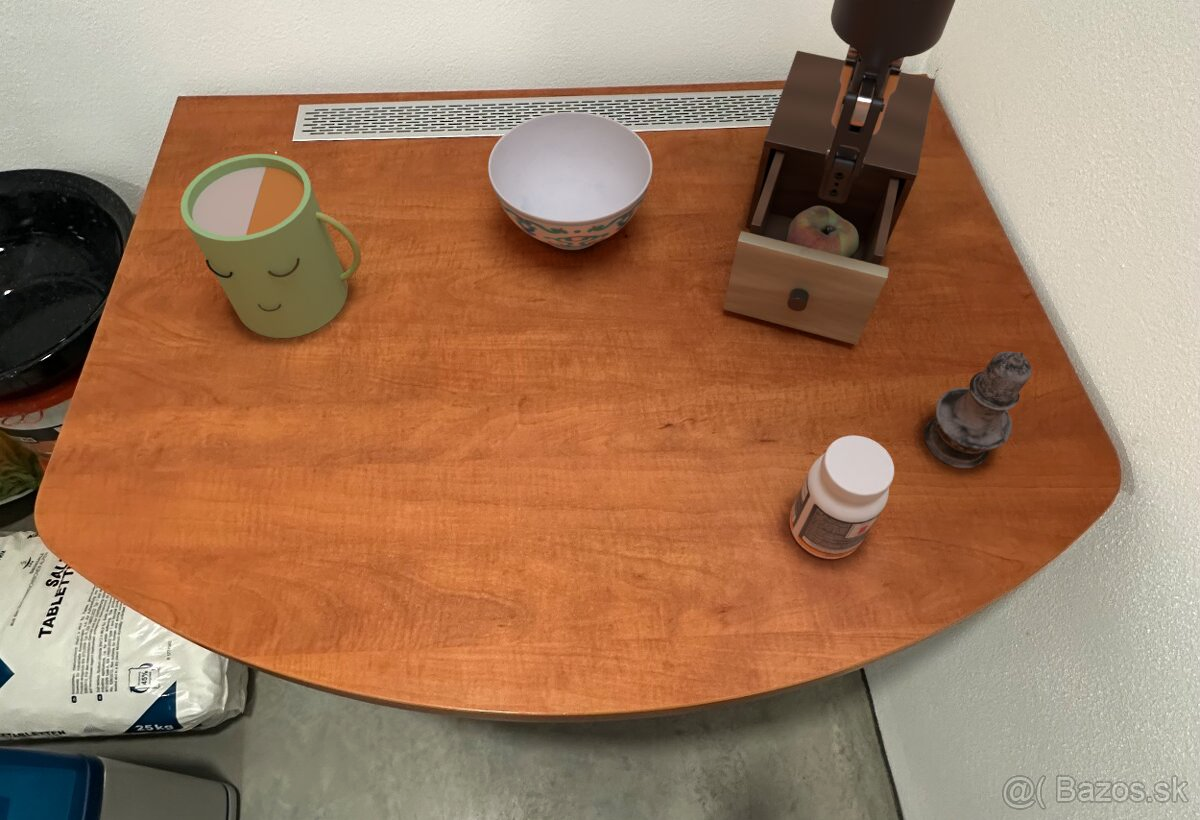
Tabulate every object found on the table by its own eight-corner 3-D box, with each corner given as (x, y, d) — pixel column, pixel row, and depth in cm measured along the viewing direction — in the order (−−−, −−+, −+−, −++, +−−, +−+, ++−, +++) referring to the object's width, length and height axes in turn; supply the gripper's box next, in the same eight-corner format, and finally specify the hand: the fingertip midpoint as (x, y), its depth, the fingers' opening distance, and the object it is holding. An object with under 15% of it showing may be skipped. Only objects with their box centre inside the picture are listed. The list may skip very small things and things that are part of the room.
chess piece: (990, 480, 64) (1064, 397, 54) (916, 459, 65) (976, 373, 55) (995, 422, 67) (1066, 333, 57) (924, 402, 68) (982, 312, 58)
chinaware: (524, 163, 84) (519, 99, 78) (662, 190, 82) (668, 127, 76) (474, 263, 77) (463, 202, 70) (625, 296, 74) (629, 236, 68)
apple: (763, 236, 76) (776, 188, 71) (848, 246, 76) (866, 198, 71) (761, 282, 73) (774, 235, 68) (849, 293, 73) (868, 246, 68)
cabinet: (880, 259, 77) (917, 175, 69) (745, 226, 80) (764, 140, 71) (899, 166, 85) (935, 78, 76) (776, 138, 87) (797, 50, 79)
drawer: (854, 355, 70) (885, 288, 63) (719, 319, 72) (734, 250, 65) (878, 242, 78) (908, 170, 70) (756, 212, 80) (772, 139, 72)
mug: (224, 342, 71) (164, 245, 61) (248, 256, 77) (197, 154, 67) (367, 340, 71) (331, 243, 61) (380, 254, 77) (350, 152, 67)
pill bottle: (876, 539, 61) (922, 478, 53) (817, 574, 60) (854, 517, 52) (830, 482, 64) (866, 415, 56) (772, 514, 62) (800, 450, 54)
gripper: (956, 31, 47) (874, 235, 60) (976, -84, 54) (899, 121, 67) (827, 6, 48) (776, 211, 61) (864, -102, 55) (811, 102, 69)
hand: (840, 164), depth 64 cm, fingers open, 8 cm apart
